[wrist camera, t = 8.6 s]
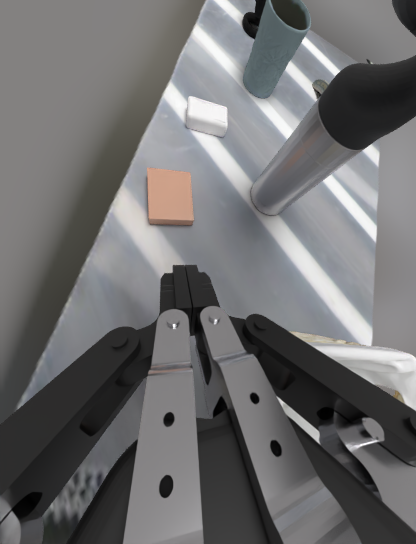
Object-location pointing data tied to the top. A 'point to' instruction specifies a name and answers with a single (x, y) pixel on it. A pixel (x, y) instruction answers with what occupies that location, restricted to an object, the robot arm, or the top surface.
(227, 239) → the top surface
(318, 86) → the ceramic fragment
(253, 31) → the webcam
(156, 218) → the terracotta tile
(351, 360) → the storage basket
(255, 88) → the green ceramic cup
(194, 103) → the soap
